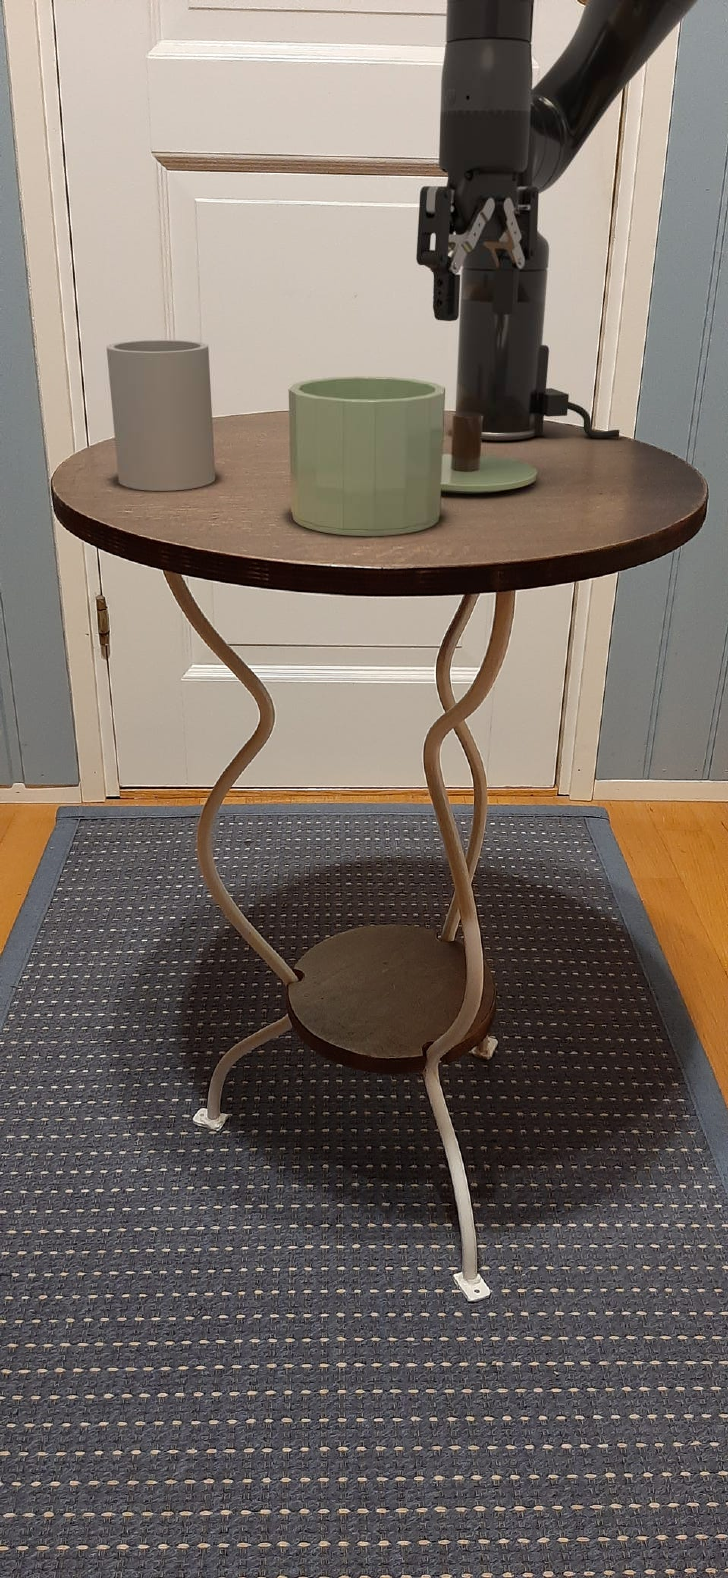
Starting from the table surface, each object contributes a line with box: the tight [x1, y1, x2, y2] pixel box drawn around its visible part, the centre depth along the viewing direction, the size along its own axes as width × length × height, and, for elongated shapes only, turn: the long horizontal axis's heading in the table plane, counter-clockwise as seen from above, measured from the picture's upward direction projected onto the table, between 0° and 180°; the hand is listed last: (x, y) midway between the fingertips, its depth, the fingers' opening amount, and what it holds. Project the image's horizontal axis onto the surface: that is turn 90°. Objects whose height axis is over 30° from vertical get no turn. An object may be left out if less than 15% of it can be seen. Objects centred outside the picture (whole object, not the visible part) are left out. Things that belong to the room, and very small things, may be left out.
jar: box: [288, 375, 446, 537], centre depth 96 cm, size 13×13×10 cm
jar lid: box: [441, 412, 538, 494], centre depth 109 cm, size 14×14×6 cm
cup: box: [106, 339, 216, 492], centre depth 107 cm, size 9×9×12 cm
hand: (476, 316), depth 103 cm, fingers open, 8 cm apart
